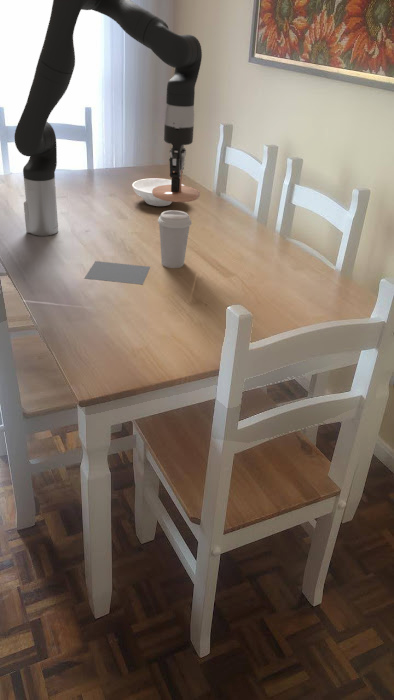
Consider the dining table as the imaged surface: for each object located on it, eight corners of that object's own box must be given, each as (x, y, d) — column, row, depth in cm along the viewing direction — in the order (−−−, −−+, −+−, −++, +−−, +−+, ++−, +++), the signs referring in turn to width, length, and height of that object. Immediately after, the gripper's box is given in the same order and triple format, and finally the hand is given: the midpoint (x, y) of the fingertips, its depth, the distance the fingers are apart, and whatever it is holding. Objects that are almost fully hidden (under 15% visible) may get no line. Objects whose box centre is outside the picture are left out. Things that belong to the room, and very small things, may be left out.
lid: (148, 199, 151) (149, 173, 148) (156, 185, 162) (157, 161, 159) (197, 204, 151) (198, 178, 147) (201, 190, 162) (203, 165, 158)
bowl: (194, 203, 218) (195, 185, 214) (164, 216, 204) (165, 197, 200) (152, 192, 226) (153, 175, 223) (121, 203, 212) (121, 185, 208)
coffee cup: (193, 261, 170) (196, 212, 162) (182, 273, 162) (185, 223, 155) (163, 255, 173) (165, 207, 165) (151, 267, 165) (152, 217, 157)
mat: (84, 279, 155) (84, 278, 155) (95, 262, 165) (95, 261, 165) (142, 285, 154) (142, 284, 154) (150, 267, 164) (150, 266, 164)
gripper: (168, 117, 153) (166, 181, 162) (160, 127, 141) (158, 196, 150) (196, 119, 153) (192, 184, 162) (190, 129, 141) (186, 199, 150)
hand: (176, 189), depth 156 cm, fingers closed on lid, 2 cm apart
